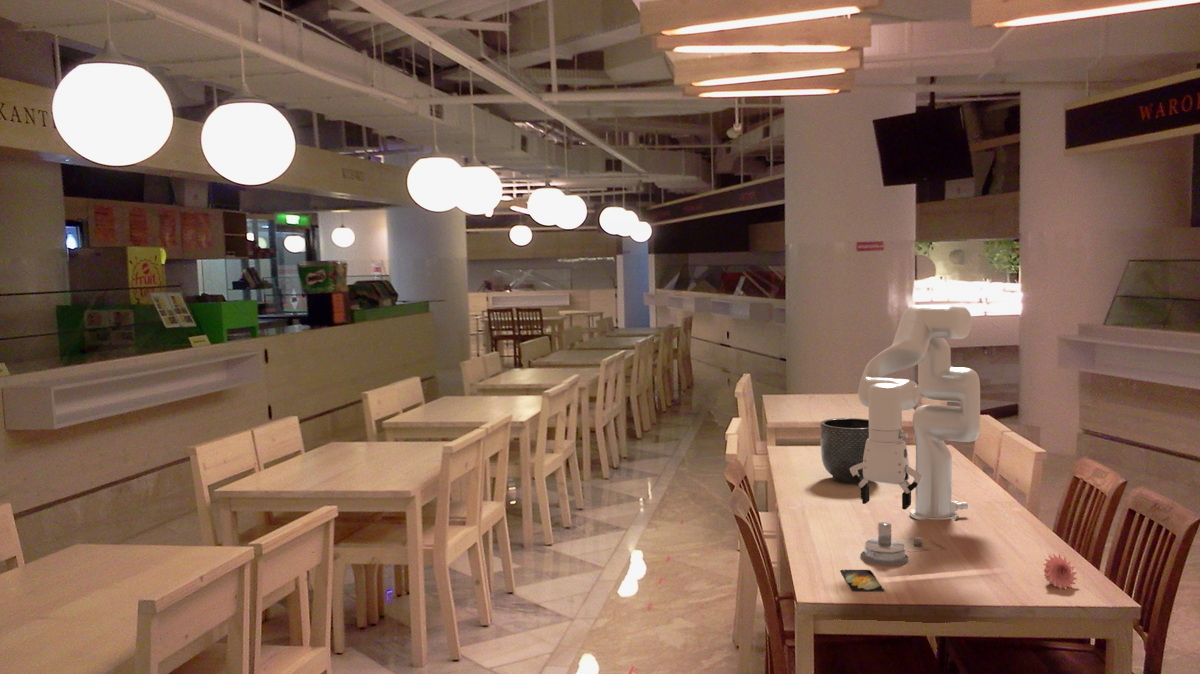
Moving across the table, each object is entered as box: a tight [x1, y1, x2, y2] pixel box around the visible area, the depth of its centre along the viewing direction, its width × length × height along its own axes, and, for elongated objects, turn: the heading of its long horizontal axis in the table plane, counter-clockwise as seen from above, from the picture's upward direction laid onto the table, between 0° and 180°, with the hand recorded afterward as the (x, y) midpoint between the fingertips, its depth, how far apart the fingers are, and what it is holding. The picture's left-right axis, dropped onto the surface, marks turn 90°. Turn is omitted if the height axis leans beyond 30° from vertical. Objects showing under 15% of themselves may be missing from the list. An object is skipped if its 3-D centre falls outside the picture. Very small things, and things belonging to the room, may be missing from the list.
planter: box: [819, 417, 869, 485], centre depth 306 cm, size 20×20×19 cm
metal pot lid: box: [860, 550, 909, 567], centre depth 226 cm, size 11×11×3 cm
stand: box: [894, 536, 947, 553], centre depth 236 cm, size 10×10×3 cm
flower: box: [1043, 553, 1078, 590], centre depth 208 cm, size 8×8×6 cm
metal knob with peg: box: [864, 521, 906, 562], centre depth 226 cm, size 9×9×8 cm
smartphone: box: [839, 569, 886, 594], centre depth 213 cm, size 7×1×15 cm
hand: (885, 505), depth 225 cm, fingers open, 9 cm apart
